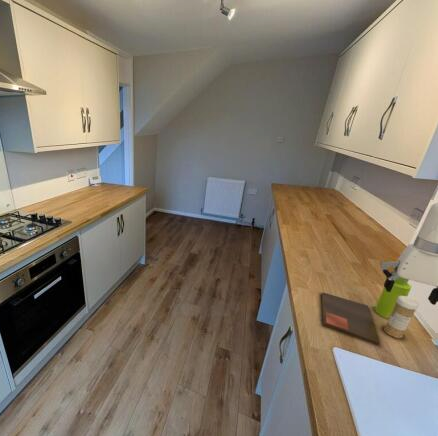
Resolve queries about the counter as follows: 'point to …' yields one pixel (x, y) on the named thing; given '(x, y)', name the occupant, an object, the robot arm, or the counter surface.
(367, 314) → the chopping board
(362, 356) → the counter surface
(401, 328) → the sprinkles bottle
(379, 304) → the soap dispenser
